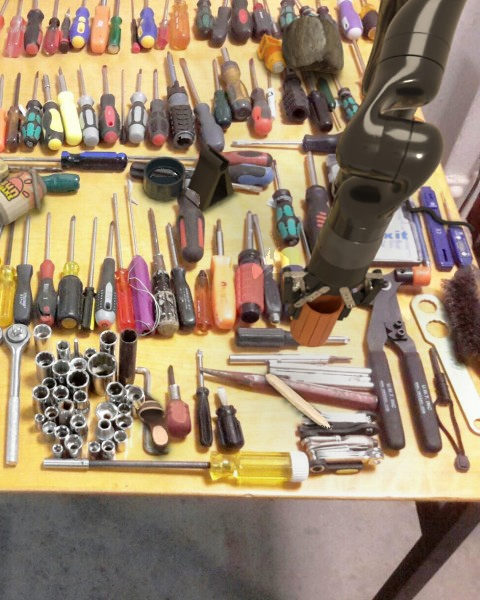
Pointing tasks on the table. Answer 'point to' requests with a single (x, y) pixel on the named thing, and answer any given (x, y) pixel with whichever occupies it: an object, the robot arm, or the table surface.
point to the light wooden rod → (296, 400)
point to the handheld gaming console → (3, 170)
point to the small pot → (317, 320)
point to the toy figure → (272, 54)
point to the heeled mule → (154, 422)
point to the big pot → (164, 179)
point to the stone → (313, 45)
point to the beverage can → (20, 195)
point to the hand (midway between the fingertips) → (316, 315)
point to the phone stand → (211, 178)
